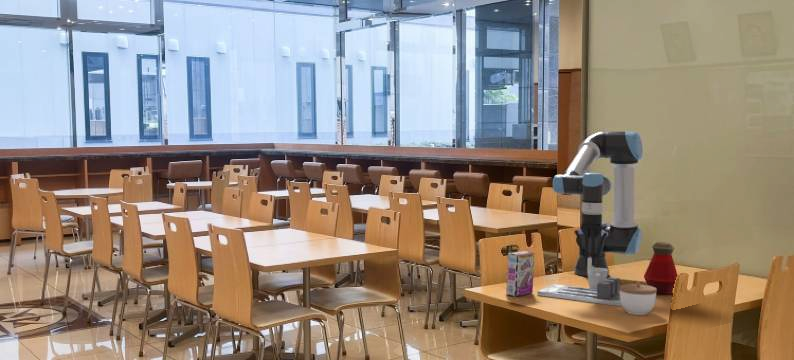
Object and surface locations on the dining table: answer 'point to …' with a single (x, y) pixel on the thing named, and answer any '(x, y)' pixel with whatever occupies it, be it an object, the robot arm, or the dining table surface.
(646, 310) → the lidded bowl
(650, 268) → the bottle
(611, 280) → the block
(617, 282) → the block
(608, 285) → the block
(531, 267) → the candy bar box
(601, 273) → the cup
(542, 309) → the dining table surface
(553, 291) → the panel
